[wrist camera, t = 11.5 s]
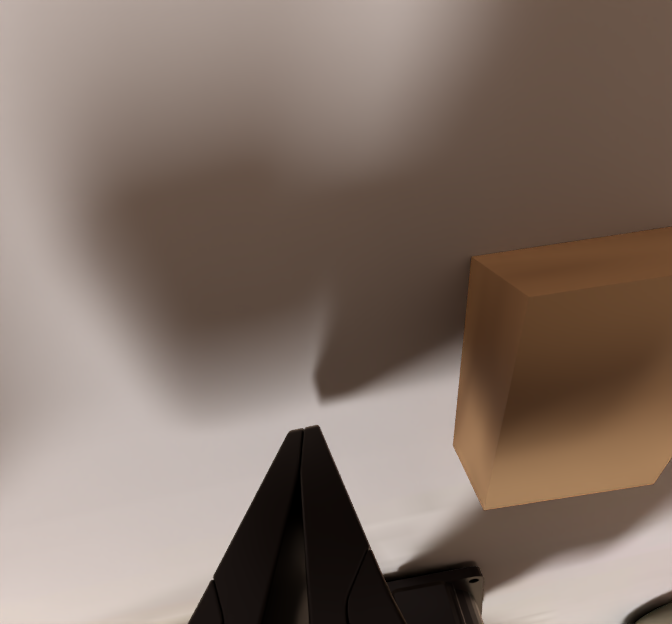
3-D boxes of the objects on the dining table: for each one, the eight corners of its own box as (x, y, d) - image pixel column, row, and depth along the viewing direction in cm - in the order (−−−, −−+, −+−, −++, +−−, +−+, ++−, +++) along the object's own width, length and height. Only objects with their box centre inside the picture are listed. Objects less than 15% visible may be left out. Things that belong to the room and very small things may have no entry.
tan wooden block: (585, 416, 11) (653, 483, 9) (449, 437, 11) (483, 510, 9) (663, 222, 7) (809, 254, 5) (464, 252, 7) (529, 296, 5)
